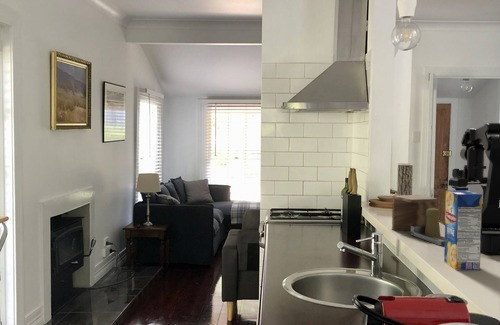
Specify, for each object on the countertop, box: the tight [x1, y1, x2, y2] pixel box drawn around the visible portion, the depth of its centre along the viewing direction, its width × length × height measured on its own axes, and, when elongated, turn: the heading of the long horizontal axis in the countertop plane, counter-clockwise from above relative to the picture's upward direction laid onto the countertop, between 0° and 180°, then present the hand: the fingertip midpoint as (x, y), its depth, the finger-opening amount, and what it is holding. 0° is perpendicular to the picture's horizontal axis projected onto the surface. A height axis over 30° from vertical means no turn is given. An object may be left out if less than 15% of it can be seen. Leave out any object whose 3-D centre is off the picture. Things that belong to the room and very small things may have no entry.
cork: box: [425, 208, 442, 239], centre depth 205 cm, size 6×6×11 cm
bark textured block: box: [396, 162, 414, 196], centre depth 257 cm, size 7×7×25 cm
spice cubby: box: [391, 194, 439, 231], centre depth 215 cm, size 14×12×14 cm
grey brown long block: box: [410, 225, 445, 247], centre depth 197 cm, size 23×9×8 cm, turn 16°
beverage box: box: [443, 189, 483, 271], centre depth 160 cm, size 7×11×22 cm, turn 177°
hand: (474, 205), depth 197 cm, fingers open, 9 cm apart
